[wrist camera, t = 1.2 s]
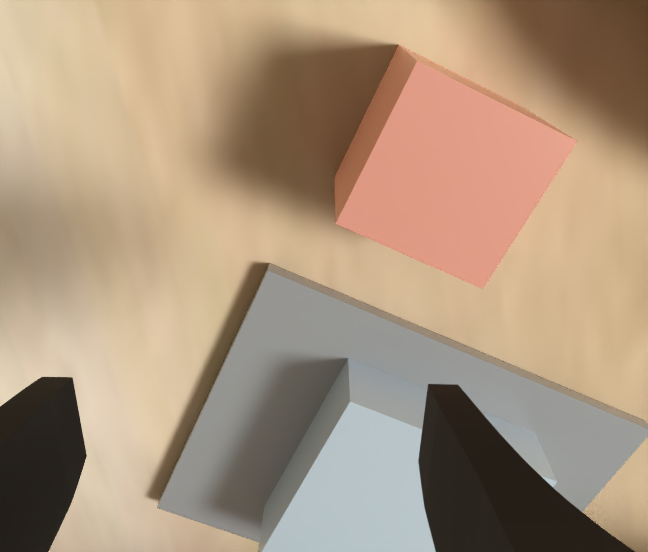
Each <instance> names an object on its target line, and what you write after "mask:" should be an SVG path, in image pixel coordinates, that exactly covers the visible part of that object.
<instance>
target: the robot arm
mask: <svg viewBox="0 0 648 552" xmlns="http://www.w3.org/2000/svg"><path fill="white" fill-rule="evenodd" d="M85 459H86V450H85V445H84V439H83V434H82V428H81V423H80V417H79V411H78V406H77V400H76V395H75V389H74V384H73V378H72V377H41V378H40V379H38V380H37V381H35V382H34V383H32V384H31V385H29V386H28V387H26V388H25V389H24V390H22V391H21V392H20V393H18V394H17V395H15V396H14V397H13V398H11V399H10V400H9V401H7V402H6V403H5V404H3V405H2V406H1V407H0V552H48V551H49V549H50V547H51V545H52V543H53V541H54V539H55V537H56V534H57V532H58V530H59V528H60V526H61V524H62V522H63V520H64V518H65V515H66V513H67V511H68V509H69V507H70V505H71V502H72V499H73V497H74V494H75V491H76V488H77V485H78V482H79V479H80V476H81V472H82V469H83V466H84V463H85ZM418 463H419V471H420V479H421V487H422V494H423V501H424V508H425V512H426V516H427V520H428V524H429V528H430V532H431V536H432V540H433V543H434V547H435V551H436V552H634V551H633V550H632V549H630V548H629V547H627V546H626V545H625V544H623V543H622V542H620V541H619V540H618V539H616V538H615V537H613V536H612V535H610V534H609V533H608V532H607V531H605V530H604V529H603V528H601V527H600V526H599V525H597V524H596V523H595V522H593V521H592V520H591V519H590V518H589V517H587V516H586V515H585V514H584V513H582V512H581V511H580V510H579V509H578V508H576V507H575V506H574V505H573V504H571V503H570V502H569V501H568V500H567V499H565V498H564V497H563V496H562V495H561V494H560V493H559V492H557V491H556V490H555V489H554V488H553V487H552V486H551V485H550V484H549V483H548V482H547V481H546V480H545V479H543V478H542V477H541V476H540V475H539V474H538V473H537V472H536V471H535V470H534V469H533V468H532V467H531V466H530V465H529V464H528V463H527V462H526V461H525V460H524V459H523V458H522V457H521V456H520V455H519V454H518V453H517V451H516V450H515V449H514V448H513V447H512V446H511V445H510V444H509V443H508V442H507V441H506V440H505V439H504V437H503V436H502V435H501V434H500V433H499V432H498V431H497V430H496V428H495V427H494V426H493V425H492V424H491V423H490V422H489V420H488V419H487V418H486V417H485V416H484V415H483V413H482V412H481V411H480V410H479V409H478V407H477V406H476V405H475V404H474V403H473V402H472V400H471V399H470V398H469V397H468V396H467V394H466V393H465V392H464V391H463V390H462V389H461V387H460V386H459V385H458V384H428V388H427V396H426V404H425V412H424V419H423V427H422V435H421V443H420V451H419V459H418Z"/></svg>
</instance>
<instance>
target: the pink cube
mask: <svg viewBox="0 0 648 552" xmlns="http://www.w3.org/2000/svg"><path fill="white" fill-rule="evenodd" d="M576 143H577V141H576V140H574V139H573V138H571V137H570V136H568V135H567V134H565V133H563V132H562V131H560V130H559V129H557V128H555V127H554V126H552V125H551V124H549V123H548V122H546V121H544V120H543V119H541V118H540V117H538V116H536V115H535V114H533V113H532V112H530V111H529V110H527V109H525V108H523V107H521V106H519V105H517V104H515V103H513V102H511V101H509V100H507V99H505V98H503V97H501V96H499V95H497V94H495V93H493V92H491V91H489V90H487V89H486V88H484V87H482V86H480V85H478V84H476V83H474V82H472V81H470V80H468V79H466V78H464V77H462V76H460V75H458V74H456V73H454V72H452V71H450V70H448V69H446V68H444V67H442V66H440V65H438V64H436V63H434V62H432V61H430V60H428V59H426V58H424V57H422V56H420V55H418V54H416V53H414V52H412V51H410V50H408V49H406V48H404V47H402V46H400V45H398V47H397V49H396V51H395V53H394V55H393V57H392V59H391V61H390V64H389V66H388V68H387V70H386V72H385V74H384V76H383V78H382V80H381V82H380V84H379V86H378V88H377V90H376V92H375V94H374V97H373V99H372V101H371V103H370V105H369V107H368V109H367V111H366V113H365V115H364V117H363V119H362V121H361V123H360V125H359V127H358V130H357V132H356V134H355V136H354V138H353V140H352V142H351V144H350V146H349V148H348V150H347V152H346V154H345V156H344V158H343V160H342V163H341V165H340V167H339V169H338V171H337V173H336V175H335V221H336V224H337V225H339V226H342V227H344V228H346V229H349V230H351V231H353V232H355V233H358V234H360V235H362V236H364V237H367V238H369V239H371V240H373V241H376V242H378V243H380V244H382V245H385V246H387V247H389V248H392V249H394V250H396V251H398V252H401V253H403V254H405V255H407V256H410V257H412V258H414V259H416V260H419V261H421V262H423V263H426V264H428V265H430V266H432V267H435V268H437V269H439V270H441V271H444V272H446V273H448V274H450V275H453V276H455V277H457V278H460V279H462V280H464V281H466V282H469V283H471V284H473V285H475V286H478V287H480V288H482V289H483V288H484V286H485V285H486V283H487V282H488V280H489V279H490V277H491V276H492V274H493V272H494V271H495V269H496V268H497V266H498V265H499V263H500V262H501V260H502V258H503V257H504V255H505V254H506V252H507V251H508V249H509V247H510V246H511V244H512V243H513V241H514V240H515V238H516V237H517V235H518V233H519V232H520V230H521V229H522V227H523V226H524V224H525V223H526V221H527V219H528V218H529V216H530V215H531V213H532V212H533V210H534V208H535V207H536V205H537V204H538V202H539V201H540V199H541V198H542V196H543V194H544V193H545V191H546V190H547V188H548V187H549V185H550V183H551V182H552V180H553V179H554V177H555V176H556V174H557V173H558V171H559V169H560V168H561V166H562V165H563V163H564V162H565V160H566V159H567V157H568V155H569V154H570V152H571V151H572V149H573V148H574V146H575V144H576Z"/></svg>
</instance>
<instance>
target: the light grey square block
mask: <svg viewBox="0 0 648 552" xmlns="http://www.w3.org/2000/svg"><path fill="white" fill-rule="evenodd" d="M426 396H427V389H424V388H422V387H419V386H417V385H414V384H412V383H409V382H407V381H404V380H402V379H399V378H397V377H394V376H392V375H389V374H387V373H384V372H382V371H379V370H377V369H374V368H372V367H369V366H367V365H364V364H362V363H359V362H357V361H354V360H352V359H349V358H348V359H347V361H346V363H345V365H344V366H343V368H342V370H341V372H340V373H339V375H338V377H337V379H336V380H335V382H334V384H333V386H332V387H331V389H330V391H329V393H328V395H327V396H326V398H325V400H324V402H323V403H322V405H321V407H320V409H319V410H318V412H317V414H316V416H315V417H314V419H313V421H312V423H311V425H310V426H309V428H308V430H307V432H306V433H305V435H304V437H303V439H302V440H301V442H300V444H299V446H298V448H297V449H296V451H295V453H294V455H293V456H292V458H291V460H290V462H289V463H288V465H287V467H286V469H285V470H284V472H283V474H282V476H281V478H280V479H279V481H278V483H277V485H276V486H275V488H274V490H273V492H272V493H271V495H270V497H269V499H268V501H267V502H266V504H265V506H264V512H263V519H262V527H261V535H260V543H259V550H258V552H436V551H435V547H434V543H433V540H432V536H431V532H430V528H429V524H428V520H427V516H426V512H425V508H424V501H423V494H422V487H421V479H420V471H419V463H418V459H419V451H420V443H421V435H422V427H423V419H424V412H425V404H426ZM482 413H483V415H484V416H485V417H486V418H487V419H488V420H489V422H490V423H491V424H492V425H493V426H494V427H495V428H496V430H497V431H498V432H499V433H500V434H501V435H502V436H503V437H504V439H505V440H506V441H507V442H508V443H509V444H510V445H511V446H512V447H513V448H514V449H515V450H516V451H517V453H518V454H519V455H520V456H521V457H522V458H523V459H524V460H525V461H526V462H527V463H528V464H529V465H530V466H531V467H532V468H533V469H534V470H535V471H536V472H537V473H538V474H539V475H540V476H541V477H542V478H543V479H545V480H546V481H547V482H548V483H549V484H550V485H551V486H552V487H554V485H555V484H556V483H557V480H556V478H555V476H554V474H553V472H552V469H551V467H550V465H549V463H548V460H547V458H546V456H545V454H544V452H543V449H542V447H541V445H540V443H539V441H538V438H537V436H536V434H535V433H534V432H531V431H529V430H526V429H524V428H521V427H519V426H516V425H514V424H511V423H509V422H506V421H504V420H501V419H499V418H496V417H494V416H491V415H489V414H486V413H484V412H482Z"/></svg>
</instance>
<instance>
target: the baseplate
mask: <svg viewBox="0 0 648 552" xmlns="http://www.w3.org/2000/svg"><path fill="white" fill-rule="evenodd" d="M348 358H349V359H352V360H354V361H357V362H359V363H362V364H364V365H367V366H369V367H372V368H374V369H377V370H379V371H382V372H384V373H387V374H389V375H392V376H394V377H397V378H399V379H402V380H404V381H407V382H409V383H412V384H414V385H417V386H419V387H422V388H424V389H427V388H428V384H458V385H459V386H460V387H461V389H462V390H463V391H464V392H465V393H466V394H467V396H468V397H469V398H470V399H471V400H472V402H473V403H474V404H475V405H476V406H477V407H478V409H479V410H480V411H481V412H484V413H486V414H489V415H491V416H494V417H496V418H499V419H501V420H504V421H506V422H509V423H511V424H514V425H516V426H519V427H521V428H524V429H526V430H529V431H531V432H534V433H535V434H536V436H537V438H538V441H539V443H540V445H541V447H542V449H543V452H544V454H545V456H546V458H547V460H548V463H549V465H550V467H551V469H552V472H553V474H554V476H555V478H556V480H557V483H556V484H555V485H554V487H553V488H554V489H555V490H556V491H557V492H559V493H560V494H561V495H562V496H563V497H564V498H565V499H567V500H568V501H569V502H570V503H571V504H573V505H574V506H575V507H576V508H578V509H579V510H580V511H581V512H583V510H584V509H585V508H586V507H587V506H588V505H589V504H590V502H591V501H592V500H593V499H594V498H595V497H596V495H597V494H598V493H599V492H600V491H601V490H602V489H603V487H604V486H605V485H606V484H607V483H608V482H609V481H610V479H611V478H612V477H613V476H614V475H615V474H616V472H617V471H618V470H619V469H620V468H621V467H622V466H623V464H624V463H625V462H626V461H627V460H628V459H629V457H630V456H631V455H632V454H633V453H634V452H635V451H636V449H637V448H638V447H639V446H640V445H641V444H642V442H643V441H644V440H645V439H646V438H647V437H648V424H647V423H646V421H644V420H641V419H639V418H637V417H634V416H632V415H630V414H627V413H625V412H622V411H620V410H618V409H615V408H613V407H610V406H608V405H606V404H603V403H601V402H599V401H596V400H594V399H591V398H589V397H587V396H584V395H582V394H580V393H577V392H575V391H572V390H570V389H568V388H565V387H563V386H560V385H558V384H556V383H553V382H551V381H549V380H546V379H544V378H541V377H539V376H537V375H534V374H532V373H530V372H527V371H525V370H522V369H520V368H518V367H515V366H513V365H510V364H508V363H506V362H503V361H501V360H499V359H496V358H494V357H491V356H489V355H487V354H484V353H482V352H480V351H477V350H475V349H472V348H470V347H468V346H465V345H463V344H460V343H458V342H456V341H453V340H451V339H449V338H446V337H444V336H441V335H439V334H437V333H434V332H432V331H429V330H427V329H425V328H422V327H420V326H418V325H415V324H413V323H410V322H408V321H406V320H403V319H401V318H399V317H396V316H394V315H391V314H389V313H387V312H384V311H382V310H379V309H377V308H375V307H372V306H370V305H368V304H365V303H363V302H360V301H358V300H356V299H353V298H351V297H349V296H346V295H344V294H341V293H339V292H337V291H334V290H332V289H329V288H327V287H325V286H322V285H320V284H318V283H315V282H313V281H310V280H308V279H306V278H303V277H301V276H299V275H296V274H294V273H291V272H289V271H287V270H284V269H282V268H279V267H277V266H275V265H272V264H270V263H269V265H268V267H267V269H266V272H265V274H264V276H263V278H262V280H261V282H260V284H259V287H258V289H257V291H256V293H255V295H254V297H253V300H252V302H251V304H250V306H249V308H248V310H247V312H246V315H245V317H244V319H243V321H242V323H241V325H240V327H239V330H238V332H237V334H236V336H235V338H234V340H233V343H232V345H231V347H230V349H229V351H228V353H227V355H226V358H225V360H224V362H223V364H222V366H221V368H220V370H219V373H218V375H217V377H216V379H215V381H214V383H213V385H212V388H211V390H210V392H209V394H208V396H207V398H206V401H205V403H204V405H203V407H202V409H201V411H200V413H199V416H198V418H197V420H196V422H195V424H194V426H193V428H192V431H191V433H190V435H189V437H188V439H187V441H186V444H185V446H184V448H183V450H182V452H181V454H180V456H179V459H178V461H177V463H176V465H175V467H174V469H173V471H172V474H171V476H170V478H169V480H168V482H167V484H166V486H165V489H164V491H163V493H162V495H161V497H160V500H159V503H158V506H157V508H159V509H162V510H165V511H168V512H171V513H174V514H176V515H179V516H182V517H185V518H188V519H191V520H194V521H197V522H200V523H203V524H206V525H209V526H212V527H215V528H218V529H221V530H224V531H227V532H230V533H233V534H236V535H239V536H242V537H245V538H248V539H251V540H254V541H257V542H260V535H261V527H262V519H263V512H264V506H265V504H266V502H267V501H268V499H269V497H270V495H271V493H272V492H273V490H274V488H275V486H276V485H277V483H278V481H279V479H280V478H281V476H282V474H283V472H284V470H285V469H286V467H287V465H288V463H289V462H290V460H291V458H292V456H293V455H294V453H295V451H296V449H297V448H298V446H299V444H300V442H301V440H302V439H303V437H304V435H305V433H306V432H307V430H308V428H309V426H310V425H311V423H312V421H313V419H314V417H315V416H316V414H317V412H318V410H319V409H320V407H321V405H322V403H323V402H324V400H325V398H326V396H327V395H328V393H329V391H330V389H331V387H332V386H333V384H334V382H335V380H336V379H337V377H338V375H339V373H340V372H341V370H342V368H343V366H344V365H345V363H346V361H347V359H348Z"/></svg>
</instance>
